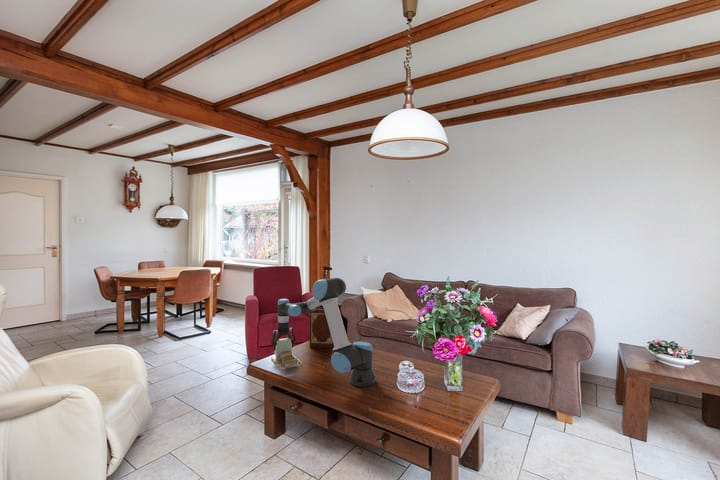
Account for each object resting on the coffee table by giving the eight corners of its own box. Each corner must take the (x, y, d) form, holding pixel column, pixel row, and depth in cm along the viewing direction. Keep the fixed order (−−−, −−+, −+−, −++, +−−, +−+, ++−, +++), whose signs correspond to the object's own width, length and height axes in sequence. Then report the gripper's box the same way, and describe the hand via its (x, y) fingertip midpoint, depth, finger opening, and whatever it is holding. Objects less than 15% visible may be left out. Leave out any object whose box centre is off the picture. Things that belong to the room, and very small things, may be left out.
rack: (271, 361, 234) (271, 351, 233) (291, 357, 241) (291, 347, 241) (280, 371, 216) (280, 360, 216) (302, 366, 224) (302, 356, 224)
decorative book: (339, 345, 268) (339, 307, 268) (338, 348, 260) (338, 309, 260) (312, 344, 271) (312, 306, 270) (309, 347, 263) (309, 309, 262)
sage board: (291, 358, 235) (291, 338, 235) (276, 361, 230) (276, 341, 230) (289, 357, 238) (289, 337, 238) (275, 359, 233) (275, 339, 233)
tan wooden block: (292, 362, 229) (292, 357, 229) (282, 364, 225) (282, 359, 225) (290, 360, 233) (290, 355, 233) (280, 362, 229) (280, 357, 229)
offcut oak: (292, 357, 229) (292, 352, 229) (282, 359, 225) (282, 354, 225) (289, 355, 233) (289, 350, 233) (280, 357, 229) (280, 352, 229)
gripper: (297, 318, 243) (296, 349, 243) (265, 322, 231) (265, 354, 232) (300, 320, 237) (300, 352, 237) (268, 324, 225) (268, 358, 225)
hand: (283, 353), depth 234 cm, fingers closed on sage board, 10 cm apart
